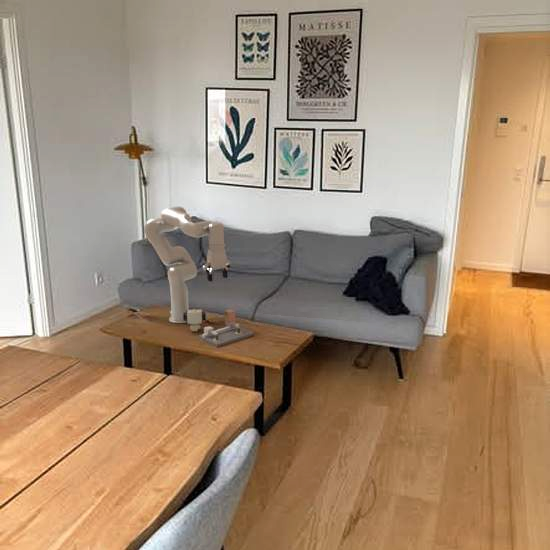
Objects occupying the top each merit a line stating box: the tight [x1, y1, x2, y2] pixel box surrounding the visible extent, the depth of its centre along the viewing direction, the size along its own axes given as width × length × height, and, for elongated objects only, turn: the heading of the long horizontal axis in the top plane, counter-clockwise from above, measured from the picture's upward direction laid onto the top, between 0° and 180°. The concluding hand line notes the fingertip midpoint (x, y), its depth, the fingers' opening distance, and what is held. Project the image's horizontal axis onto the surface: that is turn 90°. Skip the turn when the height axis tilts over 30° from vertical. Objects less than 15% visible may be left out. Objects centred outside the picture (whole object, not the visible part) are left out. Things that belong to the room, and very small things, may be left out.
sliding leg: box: [224, 308, 241, 332], centre depth 284 cm, size 9×4×10 cm, turn 43°
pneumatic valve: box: [183, 308, 207, 332], centre depth 289 cm, size 6×12×12 cm, turn 94°
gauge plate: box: [197, 323, 255, 348], centre depth 280 cm, size 16×24×6 cm, turn 133°
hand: (217, 279), depth 283 cm, fingers open, 9 cm apart
